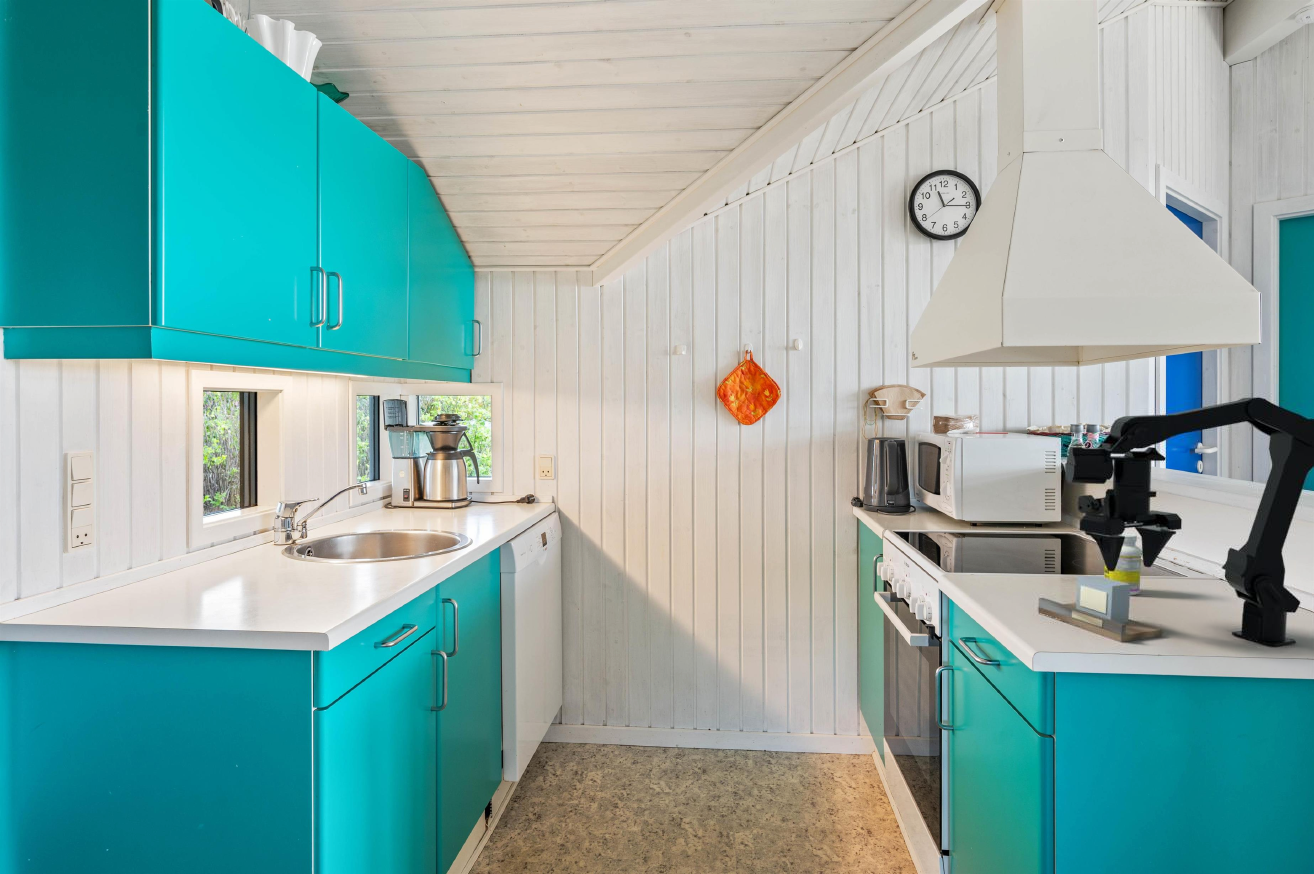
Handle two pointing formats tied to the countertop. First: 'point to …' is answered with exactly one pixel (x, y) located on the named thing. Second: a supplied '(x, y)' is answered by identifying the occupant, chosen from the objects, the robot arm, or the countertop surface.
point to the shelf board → (1097, 622)
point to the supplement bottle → (1128, 564)
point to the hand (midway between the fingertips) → (1129, 568)
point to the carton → (1103, 597)
